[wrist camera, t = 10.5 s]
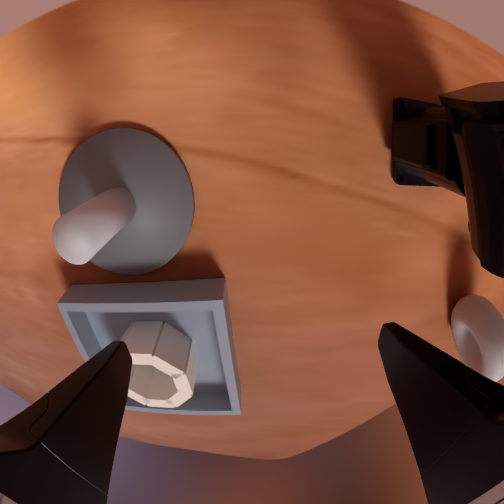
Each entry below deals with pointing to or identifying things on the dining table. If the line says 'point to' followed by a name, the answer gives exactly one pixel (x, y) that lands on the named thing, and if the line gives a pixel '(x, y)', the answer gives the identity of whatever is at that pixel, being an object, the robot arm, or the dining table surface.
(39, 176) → the dining table surface
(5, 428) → the robot arm
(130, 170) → the stake
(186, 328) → the tray
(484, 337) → the donut
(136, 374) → the ring
